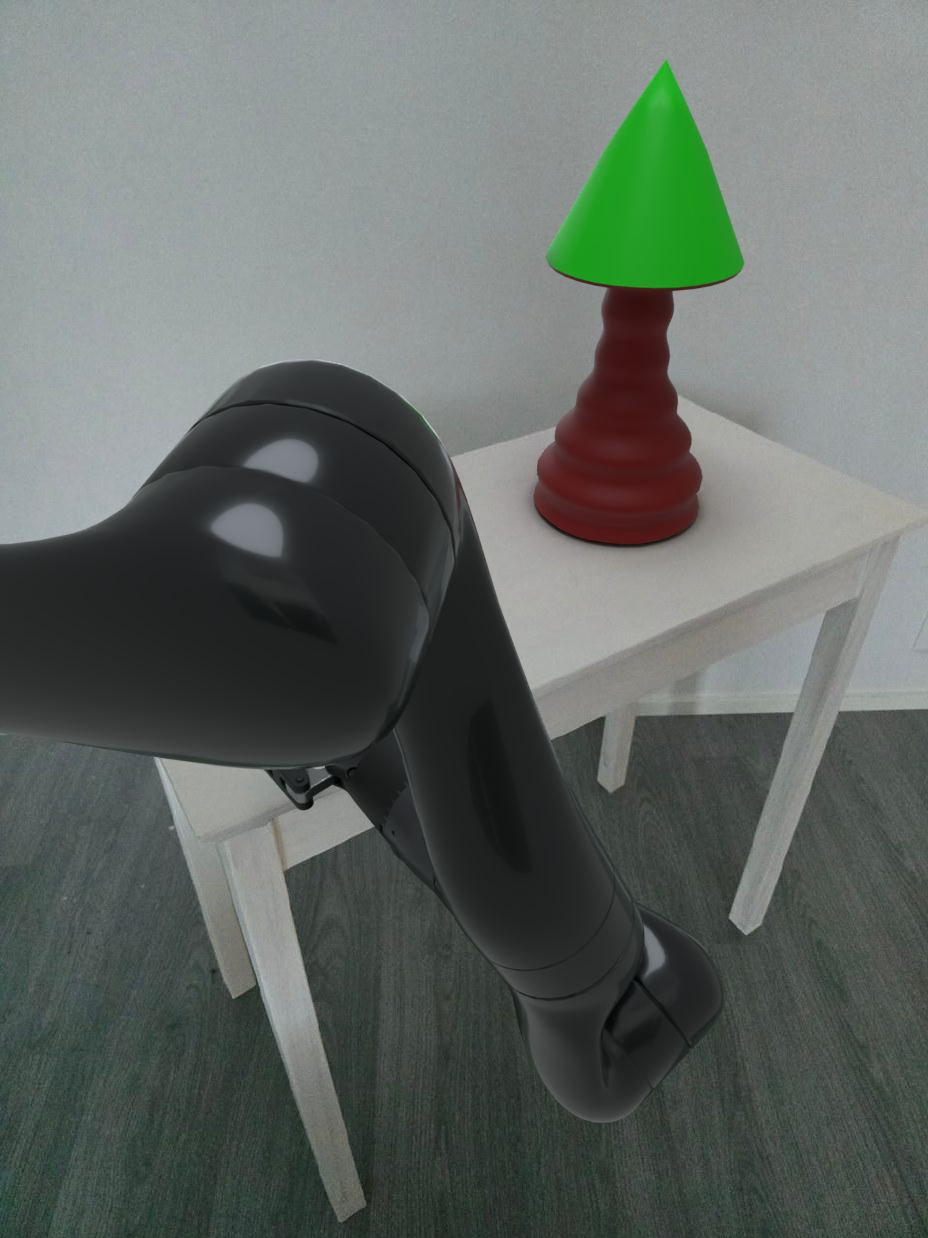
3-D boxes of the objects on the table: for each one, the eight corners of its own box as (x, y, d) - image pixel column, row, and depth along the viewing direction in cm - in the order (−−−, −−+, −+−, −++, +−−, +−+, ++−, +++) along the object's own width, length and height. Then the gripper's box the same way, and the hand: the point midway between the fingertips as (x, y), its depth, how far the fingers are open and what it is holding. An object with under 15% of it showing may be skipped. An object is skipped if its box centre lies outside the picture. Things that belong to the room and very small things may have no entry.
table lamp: (733, 515, 99) (834, 60, 71) (601, 567, 91) (655, 77, 63) (625, 449, 112) (674, 44, 84) (502, 489, 104) (510, 57, 76)
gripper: (524, 717, 54) (388, 597, 64) (333, 826, 48) (216, 674, 58) (520, 792, 59) (394, 669, 69) (346, 901, 52) (235, 747, 63)
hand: (313, 671), depth 63 cm, fingers open, 8 cm apart
